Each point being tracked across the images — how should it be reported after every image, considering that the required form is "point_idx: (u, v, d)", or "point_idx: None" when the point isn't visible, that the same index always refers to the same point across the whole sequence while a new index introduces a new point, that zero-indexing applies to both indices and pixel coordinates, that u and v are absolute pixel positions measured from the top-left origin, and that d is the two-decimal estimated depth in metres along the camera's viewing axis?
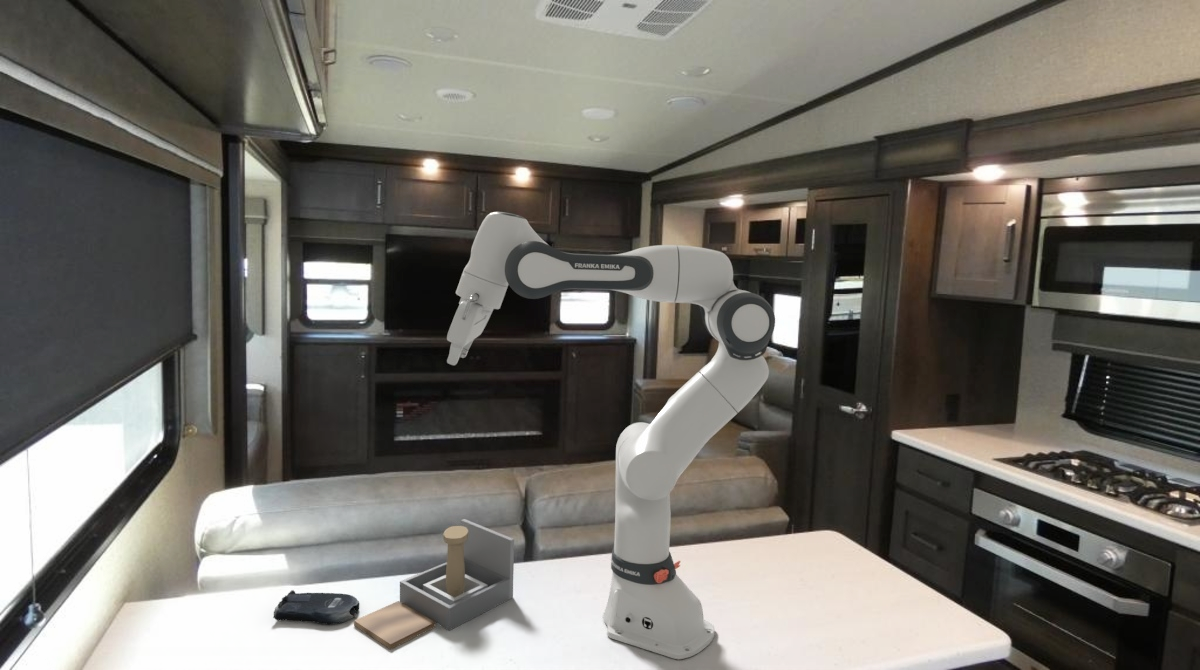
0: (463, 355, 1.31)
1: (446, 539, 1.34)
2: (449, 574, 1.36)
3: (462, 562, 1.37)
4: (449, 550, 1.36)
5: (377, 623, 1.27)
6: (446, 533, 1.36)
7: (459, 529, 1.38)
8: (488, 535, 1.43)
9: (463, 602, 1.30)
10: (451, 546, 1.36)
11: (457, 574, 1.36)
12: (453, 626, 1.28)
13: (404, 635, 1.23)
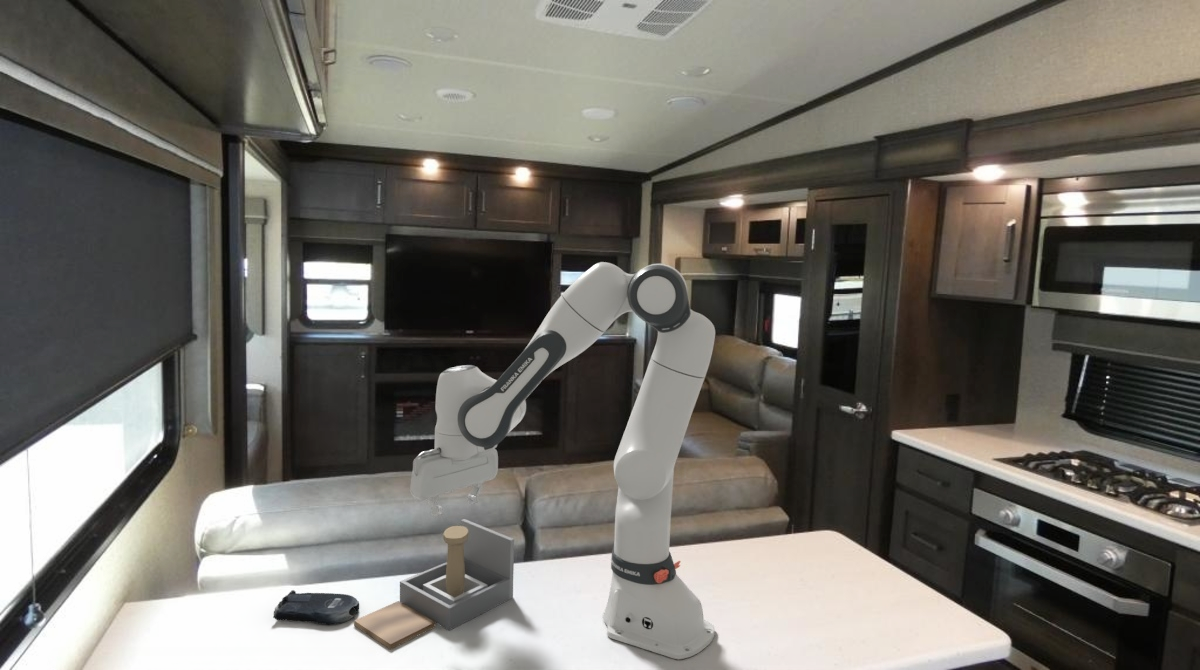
0: (471, 502, 1.39)
1: (446, 539, 1.34)
2: (449, 574, 1.36)
3: (462, 562, 1.37)
4: (449, 550, 1.36)
5: (377, 623, 1.27)
6: (446, 533, 1.36)
7: (459, 529, 1.38)
8: (488, 535, 1.43)
9: (463, 602, 1.30)
10: (451, 546, 1.36)
11: (457, 574, 1.36)
12: (453, 626, 1.28)
13: (404, 635, 1.23)
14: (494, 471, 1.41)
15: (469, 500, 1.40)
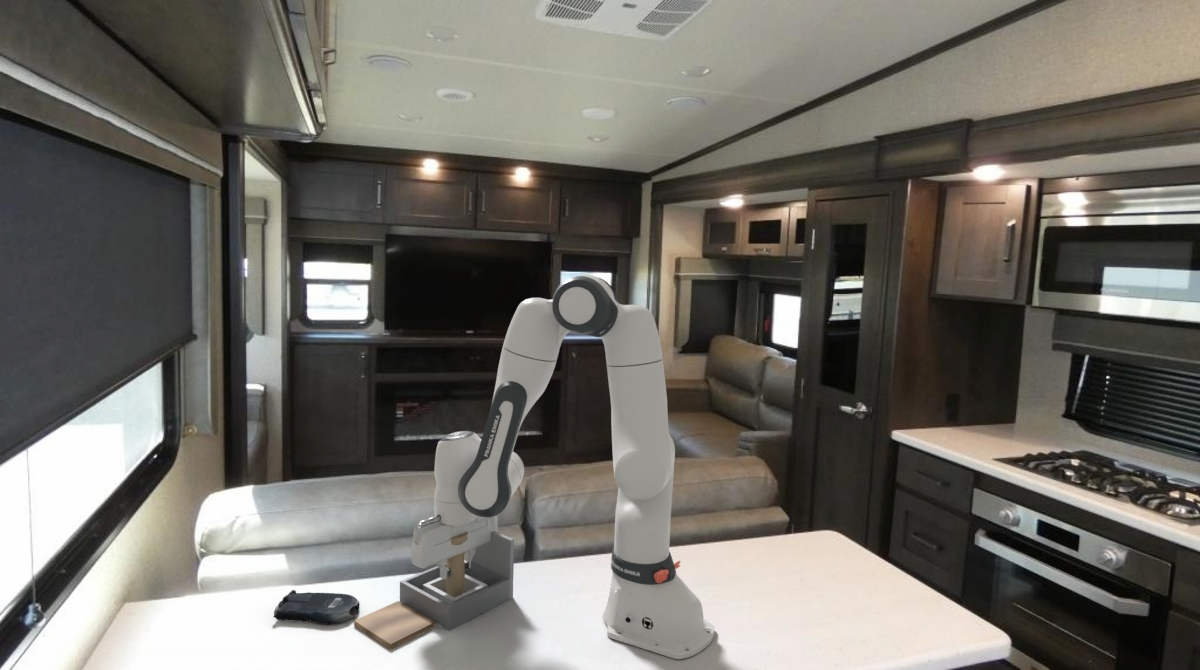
0: None
1: None
2: None
3: (462, 562, 1.37)
4: None
5: (377, 623, 1.27)
6: None
7: None
8: None
9: (463, 602, 1.30)
10: None
11: (457, 574, 1.36)
12: (453, 626, 1.28)
13: (404, 635, 1.23)
14: None
15: None
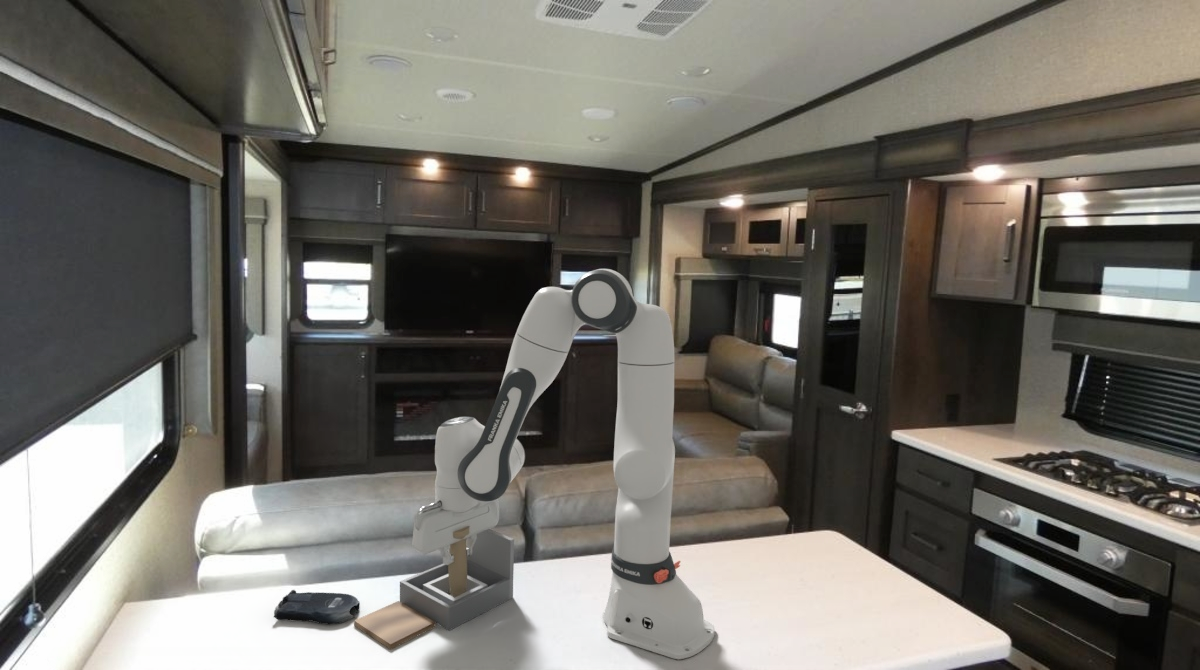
0: None
1: None
2: (452, 568, 1.36)
3: (464, 556, 1.37)
4: (451, 544, 1.36)
5: (377, 623, 1.27)
6: None
7: None
8: (488, 535, 1.43)
9: (463, 602, 1.30)
10: None
11: (459, 568, 1.36)
12: (453, 626, 1.28)
13: (404, 635, 1.23)
14: (495, 519, 1.43)
15: None
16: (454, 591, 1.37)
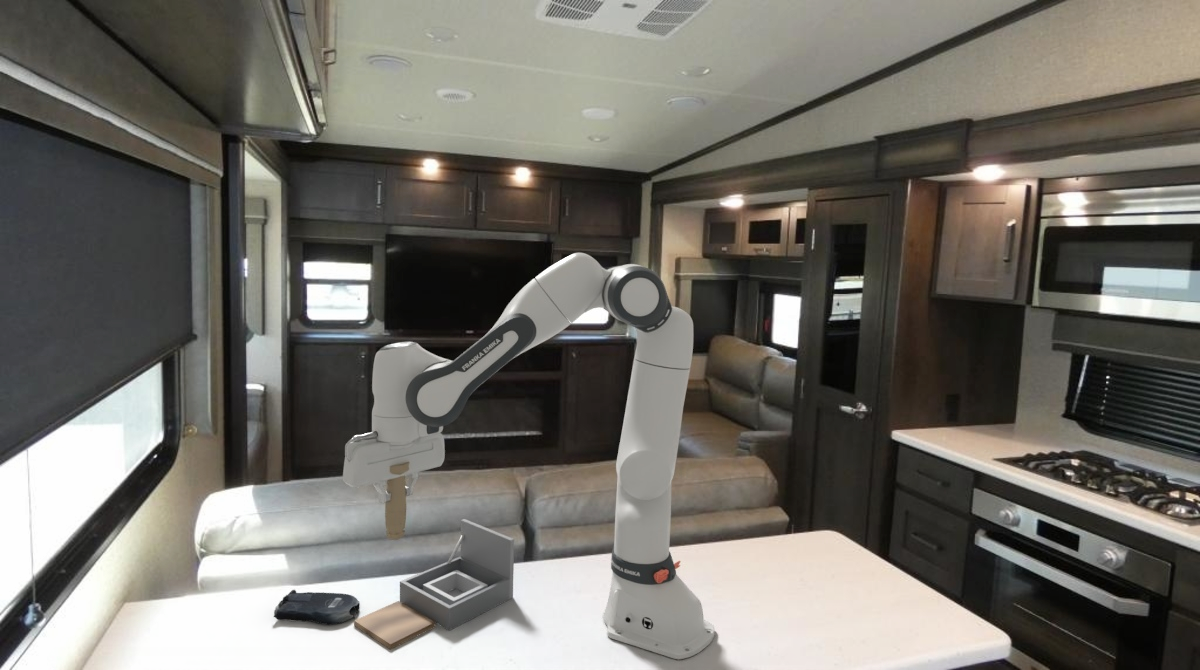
0: None
1: None
2: (388, 507, 1.24)
3: (403, 494, 1.25)
4: (388, 480, 1.24)
5: (377, 623, 1.27)
6: None
7: None
8: (488, 535, 1.43)
9: (463, 602, 1.30)
10: None
11: (396, 507, 1.24)
12: (453, 626, 1.28)
13: (404, 635, 1.23)
14: (440, 458, 1.31)
15: None
16: (390, 532, 1.25)
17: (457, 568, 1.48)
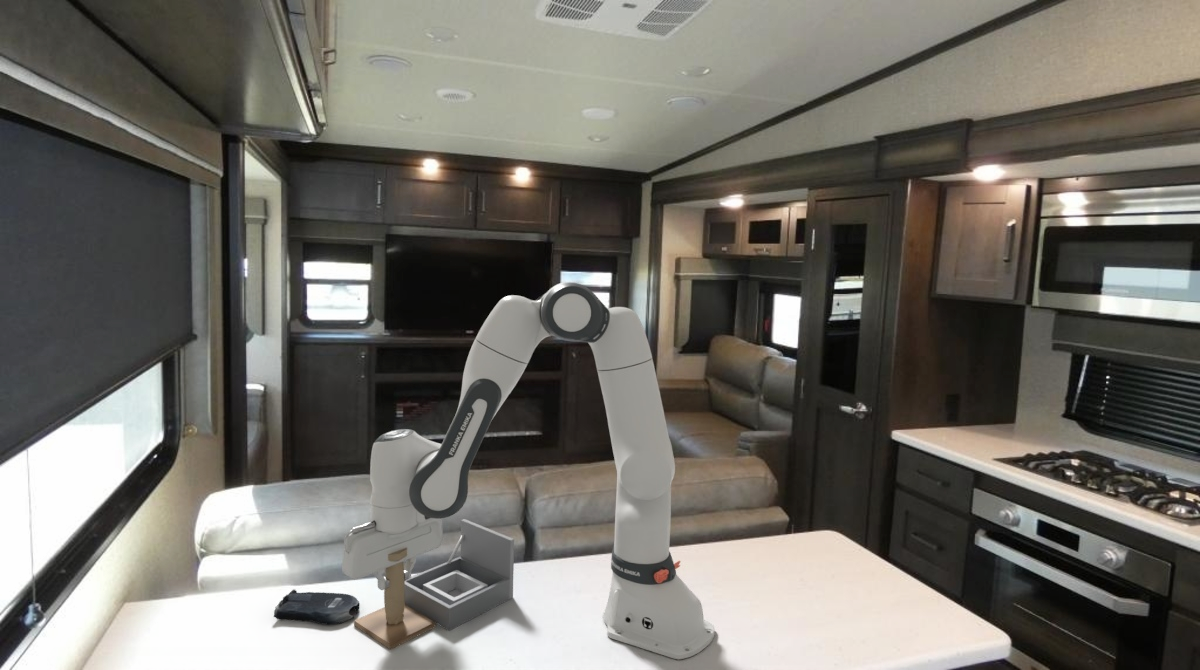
0: None
1: None
2: (387, 593, 1.26)
3: (401, 580, 1.26)
4: (387, 567, 1.26)
5: (377, 623, 1.27)
6: None
7: None
8: (488, 535, 1.43)
9: (463, 602, 1.30)
10: None
11: (395, 593, 1.26)
12: (453, 626, 1.28)
13: (404, 635, 1.23)
14: (438, 540, 1.32)
15: None
16: (390, 618, 1.26)
17: (457, 568, 1.48)
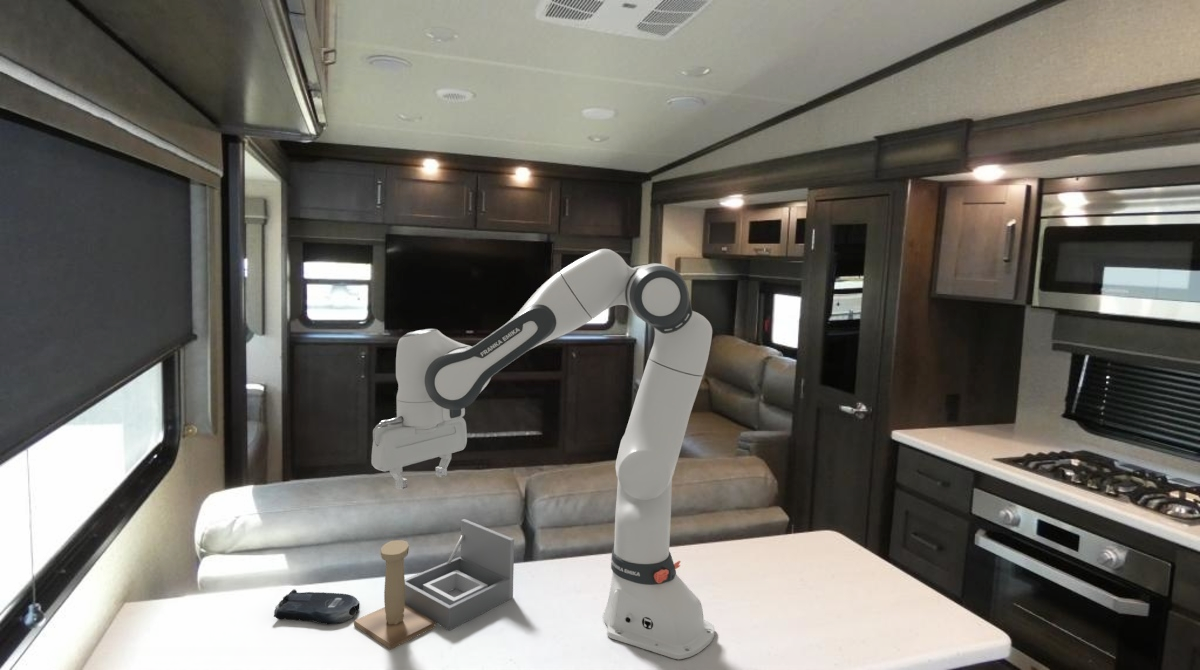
0: (440, 474, 1.32)
1: (383, 555, 1.24)
2: (387, 593, 1.26)
3: (401, 580, 1.26)
4: (387, 567, 1.26)
5: (377, 623, 1.27)
6: (384, 548, 1.26)
7: (399, 544, 1.28)
8: (488, 535, 1.43)
9: (463, 602, 1.30)
10: (388, 562, 1.25)
11: (395, 593, 1.26)
12: (453, 626, 1.28)
13: (404, 635, 1.23)
14: (463, 442, 1.34)
15: (437, 473, 1.32)
16: (390, 618, 1.26)
17: (457, 568, 1.48)
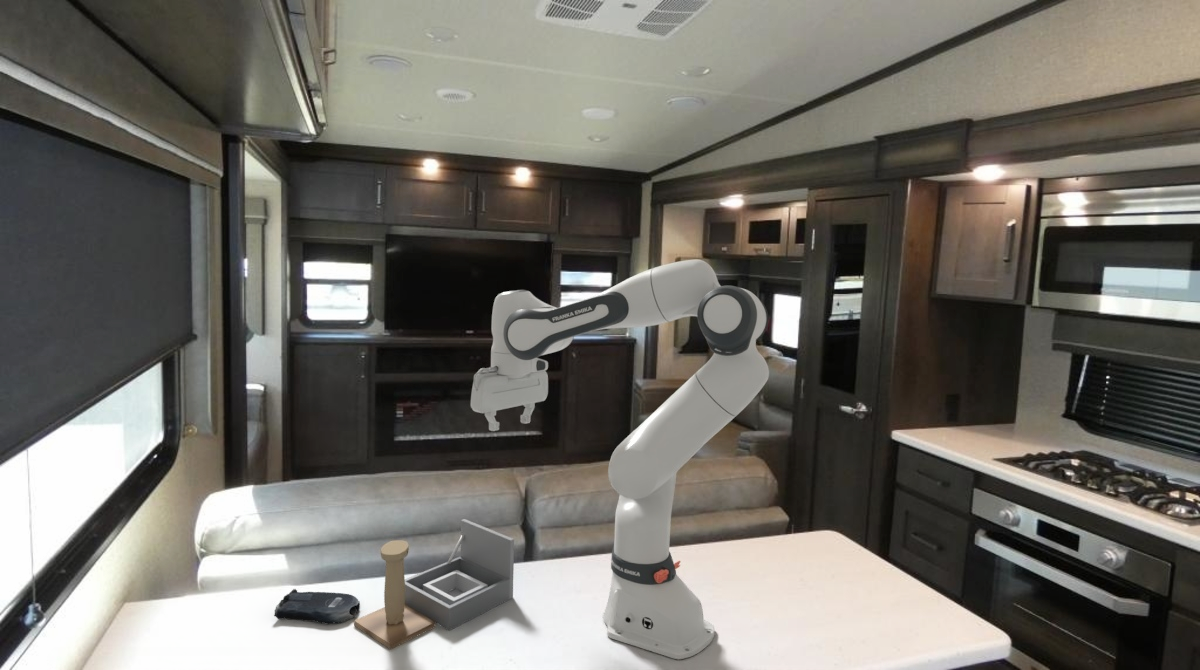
0: (524, 421, 1.48)
1: (383, 555, 1.24)
2: (387, 593, 1.26)
3: (401, 580, 1.26)
4: (387, 567, 1.26)
5: (377, 623, 1.27)
6: (384, 548, 1.26)
7: (399, 544, 1.28)
8: (488, 535, 1.43)
9: (463, 602, 1.30)
10: (388, 562, 1.25)
11: (395, 593, 1.26)
12: (453, 626, 1.28)
13: (404, 635, 1.23)
14: (545, 393, 1.50)
15: (522, 420, 1.48)
16: (390, 618, 1.26)
17: (457, 568, 1.48)
